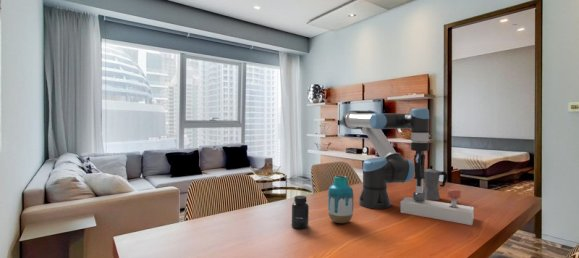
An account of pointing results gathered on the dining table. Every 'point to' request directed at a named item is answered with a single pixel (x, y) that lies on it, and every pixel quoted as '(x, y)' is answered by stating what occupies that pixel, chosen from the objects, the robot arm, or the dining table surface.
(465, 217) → the block
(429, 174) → the coffeepot
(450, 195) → the red plunger
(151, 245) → the dining table surface
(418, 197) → the plunger
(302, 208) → the supplement bottle
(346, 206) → the vase
